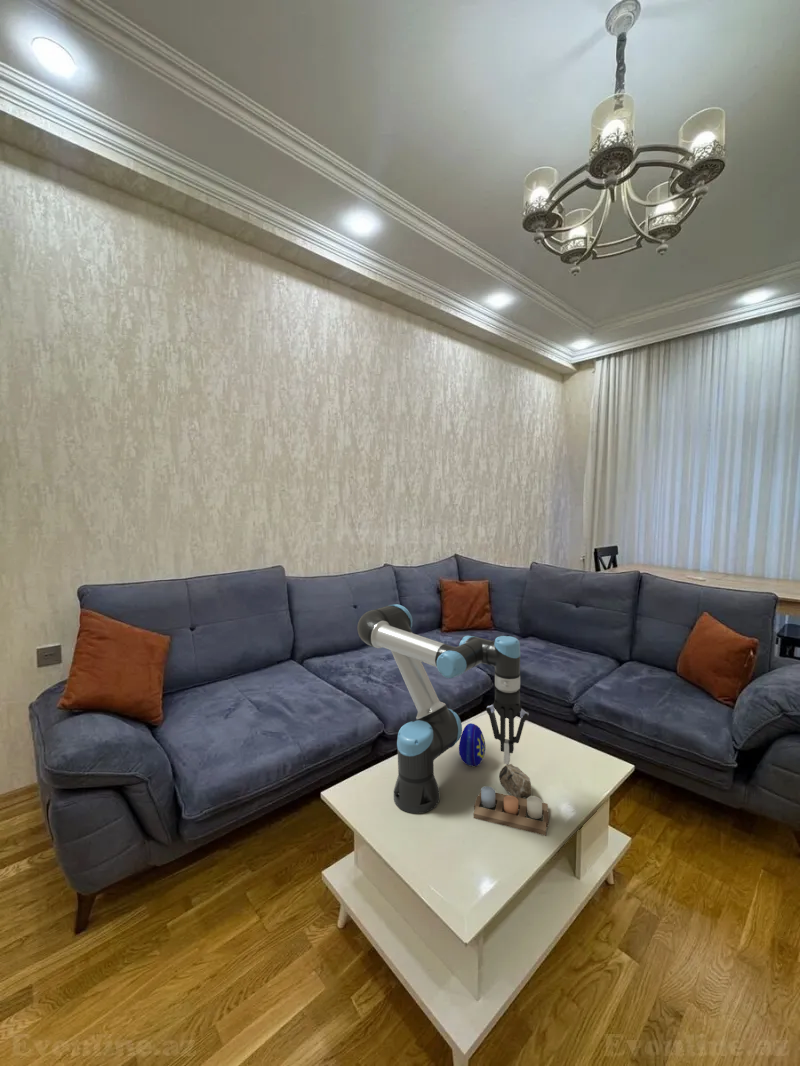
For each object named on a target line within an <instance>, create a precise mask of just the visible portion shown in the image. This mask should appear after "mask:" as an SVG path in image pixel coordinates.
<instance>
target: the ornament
mask: <svg viewBox="0 0 800 1066" xmlns="http://www.w3.org/2000/svg"><path fill="white" fill-rule="evenodd" d="M481 729H482V728H480V727H479V726H478V725H477V724H475V723H472V722H471V723H467V724H466V725H465V726H464V728H463V729H462V734H461V737H460V739H459V743H458V744H459V745H458V753H459V756H460V759H461V760H462V762H463V764H465V765H467V766H470V767H477V766H479V765H480V764H481V763H482V761H483V760H484V757H485V754H486V750H487V749H486V748H487V747H486V740H485V737H484V734H483V732H482V730H481Z"/></svg>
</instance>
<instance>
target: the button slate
mask: <svg viewBox="0 0 800 1066" xmlns="http://www.w3.org/2000/svg"><path fill="white" fill-rule="evenodd" d="M480 791H481V806H483V808H487V809H492V808H494V807H496V804H495V792H496V789H495V788H493V787H491V786H482V787H481V789H480Z"/></svg>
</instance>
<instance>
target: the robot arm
mask: <svg viewBox="0 0 800 1066" xmlns="http://www.w3.org/2000/svg"><path fill="white" fill-rule="evenodd" d="M359 618H360V619H359V620H358V622H357V633H358V636H359V638H360V639H361V641H362V642H364V643H365V644H366V645H367V646H371V647H372V648H376V649H381V648H384V649H387V650H389V651H390V652H391V655H392V656H393V658H394V661H395V663H396V665H397V668H398V669H399V670H398V671H399V673H400V674H401V676H402V679H403V681H404V683H405V686H406V689H407V690H408V692H409V695H410V698H411V699H412V701H413V704H414V706H415V708H416V710H417V713H416V717H415V719H416V720H414V721H413V720H412V721H408V722H407V723H404V724H403V725H402V726H401V727H400V729H399V730H398V733H397V739H396V747H397V748H396V749H397V771H398V772H397V774H398V775H397V778H396V781H395V785H394V789H393V801H394V802H393V803H394V804H395V805H396V806H397V808H399V809H400V810H402V811H404V812H407V813H409V814H410V813H411V814H424V813H427V812H430V811H431V810H433V809H435V808H436V807H437V806H438V805H439V802H440V797H441V796H440V794H441V793H440V787H439V785H438V783H437V779H436V777H435V771H434V769H435V768H434V761H435V760H436V759H437V758H439V757H440V756H441V755H442V754H444V753H445V752H447V750H449V749H451V748H453V747H454V746H455V745H456V744H457V742H459V741H460V738H461V735H462V732H463V724H462V721H461V718H460V716H459V715H458V714H457V712H455V711H454V710H453V709H451V708H448V706H447V704H446V703H445V702H442V701H440V699H439V698H438V697H439V696H438V695H437V692H436V691H435V688H434V686H433V684H432V682H431V680H430V677H429V675H428V673H427V671H426V669H425V667H424V665H423V663H425V664H427V665H429V666H432V667H434V668H437V671H438V672H439V673H440V674H441V675H442V677H444V678H446V679H454V678H457V677H459V676H462V675H463V674H464V673H466V672H468V671H470V670H471V669H473V668H475V667H476V666H478V665H480V664H482V665H483V664H484V665H487V666H491V667H494V701H493V703H492V704H491V705H490V704H488V705H487V706H486V709H485V711H486V713H487V715H488V716H489V721H490V725H491V728H492V734H493V737H494V739H495V740H498V741H499V742H500V747H499V748H500V749H499V751H501V752H503V764H505V765H507V764H508V765H509V764H510V761H511V754H513V753H514V750H515V749H514V747H515V746H514V745H515V744H519V743H520V741H521V736H522V733H523V729H524V726H525V722H526V721H527V720H528V718H529V715H530V712H529V711H528V710H526V711H525V709H523V708H522V704H521V690H520V689H521V655H522V654H521V643H520V640H519V639H518V638H516V637H515V636H511V635H509V636H507V635H501V636H497V637H496V638H495V640H490V639H486V638H481V637H478V636H473V635H472V636H471V635H465V636H463V637H462V639H461V640H460V642H459V645H458V646H452V645H449V644H446V643H443V642H440V641H437V640H433V639H432V638H431V639H430V638H428V637H425V636H421V635H418V634H416V633H413V631H412V627H413V622H414V621H413V616H412V614H411V612H410V611H409V610H408V608H406V607H405V606H403V605H401V604H397V603H396V604H389V605H386V606H383V607H379V608H376V609H372V610H369V611H366V612H365V613H363V614H362V615H361V617H359ZM495 711H496V713H497V714H498V715H499V721H500V722H499V723H500V724H499V725H500V726H498V723H497V722H498V721H497V716H496V713H495ZM517 716H519V717H520V721H519V724H518V727H517V731H516V735H515V718H516V717H517ZM506 719H508V738H506V722H507V721H506ZM499 727H500V729H499Z"/></svg>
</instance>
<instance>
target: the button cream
mask: <svg viewBox="0 0 800 1066" xmlns="http://www.w3.org/2000/svg"><path fill="white" fill-rule="evenodd" d="M526 799H527V814H526V815H527V816H528V817H529V818H530V819H534V820H538V819H541V818H543V815H542V803H543V801H542V799H541V798H540V797H538V796H536V795H535V796H534V795H531V796H530V797H528V798H526Z"/></svg>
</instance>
